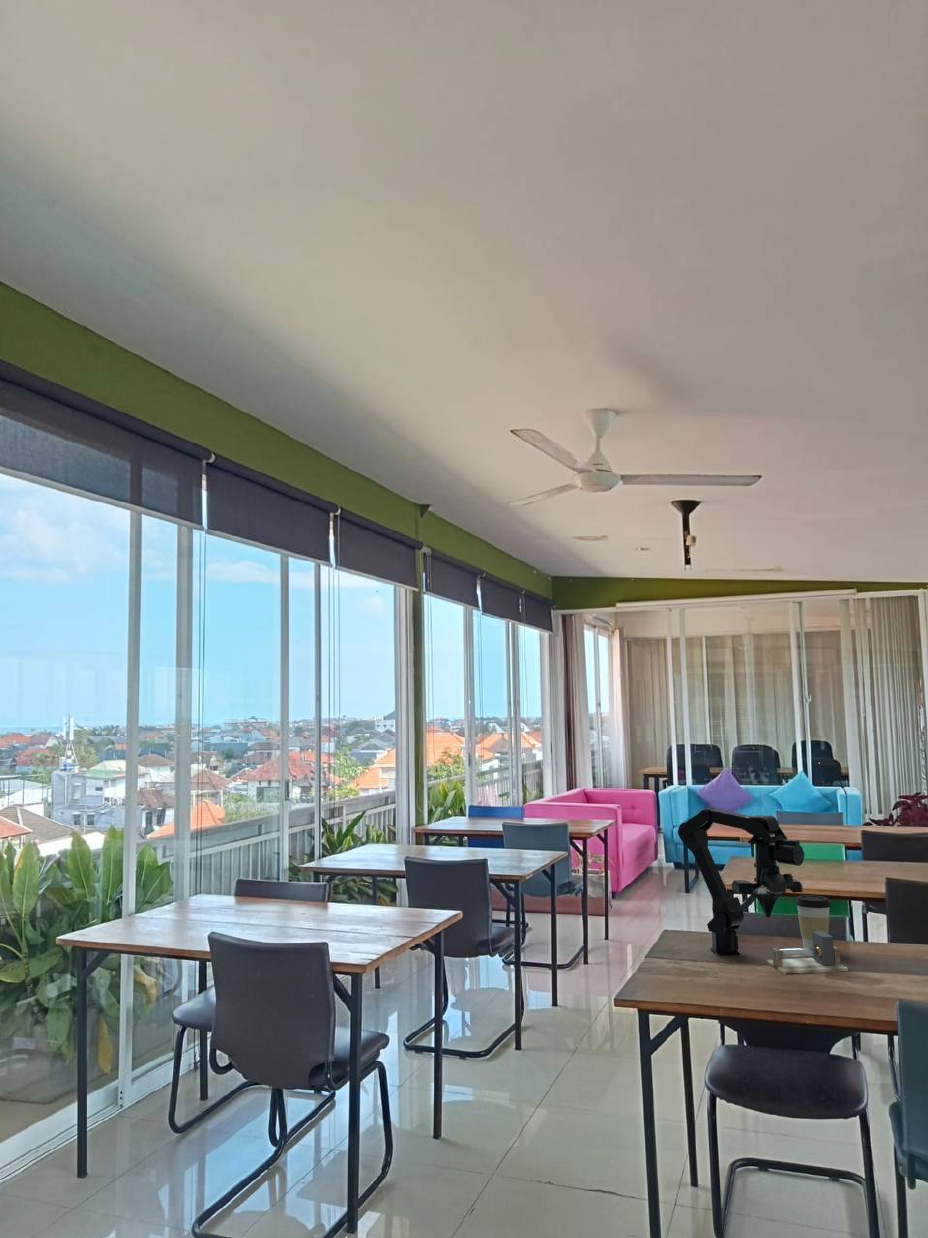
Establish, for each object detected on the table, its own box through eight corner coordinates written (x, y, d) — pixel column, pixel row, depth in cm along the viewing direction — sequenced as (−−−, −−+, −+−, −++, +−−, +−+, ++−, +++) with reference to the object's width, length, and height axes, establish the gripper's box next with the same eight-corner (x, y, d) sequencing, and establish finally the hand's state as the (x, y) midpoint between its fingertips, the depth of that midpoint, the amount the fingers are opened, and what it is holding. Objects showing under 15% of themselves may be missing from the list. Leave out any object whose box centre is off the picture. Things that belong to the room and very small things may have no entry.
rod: (777, 959, 250) (776, 950, 251) (773, 956, 253) (772, 947, 253) (839, 956, 253) (838, 947, 253) (834, 954, 255) (834, 945, 255)
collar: (824, 965, 250) (822, 937, 251) (813, 959, 256) (811, 931, 257) (834, 964, 250) (833, 936, 251) (823, 958, 256) (821, 931, 257)
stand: (784, 974, 246) (784, 955, 246) (766, 963, 257) (765, 944, 257) (847, 971, 248) (846, 952, 248) (827, 960, 259) (826, 942, 259)
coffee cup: (827, 946, 274) (825, 894, 275) (837, 955, 264) (834, 901, 266) (793, 945, 275) (791, 894, 276) (802, 954, 265) (800, 901, 267)
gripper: (746, 867, 251) (748, 925, 249) (811, 865, 253) (813, 923, 252) (730, 860, 262) (731, 915, 260) (792, 858, 264) (793, 913, 263)
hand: (767, 917), depth 258 cm, fingers closed
